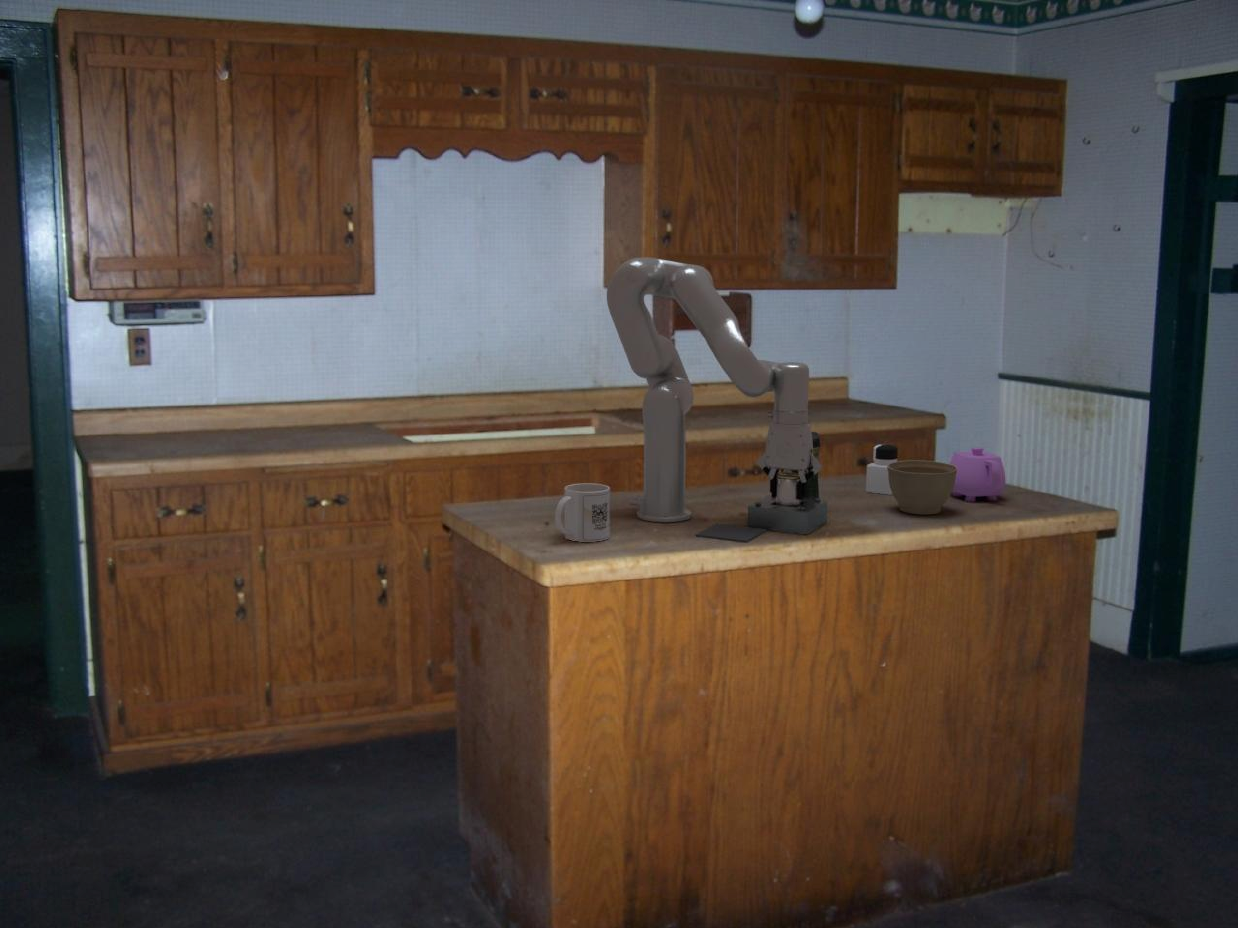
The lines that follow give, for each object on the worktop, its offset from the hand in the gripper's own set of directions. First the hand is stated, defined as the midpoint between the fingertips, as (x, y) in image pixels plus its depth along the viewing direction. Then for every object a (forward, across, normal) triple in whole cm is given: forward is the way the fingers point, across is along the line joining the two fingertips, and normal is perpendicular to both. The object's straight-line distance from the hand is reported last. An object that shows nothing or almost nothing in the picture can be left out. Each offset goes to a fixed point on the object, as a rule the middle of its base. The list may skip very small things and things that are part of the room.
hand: (788, 496), depth 290 cm
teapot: (+7, +31, +52) cm, 61 cm away
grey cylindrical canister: (+7, 0, 0) cm, 7 cm away
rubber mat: (+7, -8, -14) cm, 17 cm away
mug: (+7, -35, -33) cm, 49 cm away
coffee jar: (+7, -4, +19) cm, 21 cm away
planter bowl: (+7, +23, +29) cm, 38 cm away
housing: (+7, 0, 0) cm, 7 cm away
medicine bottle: (+7, +9, +48) cm, 49 cm away
